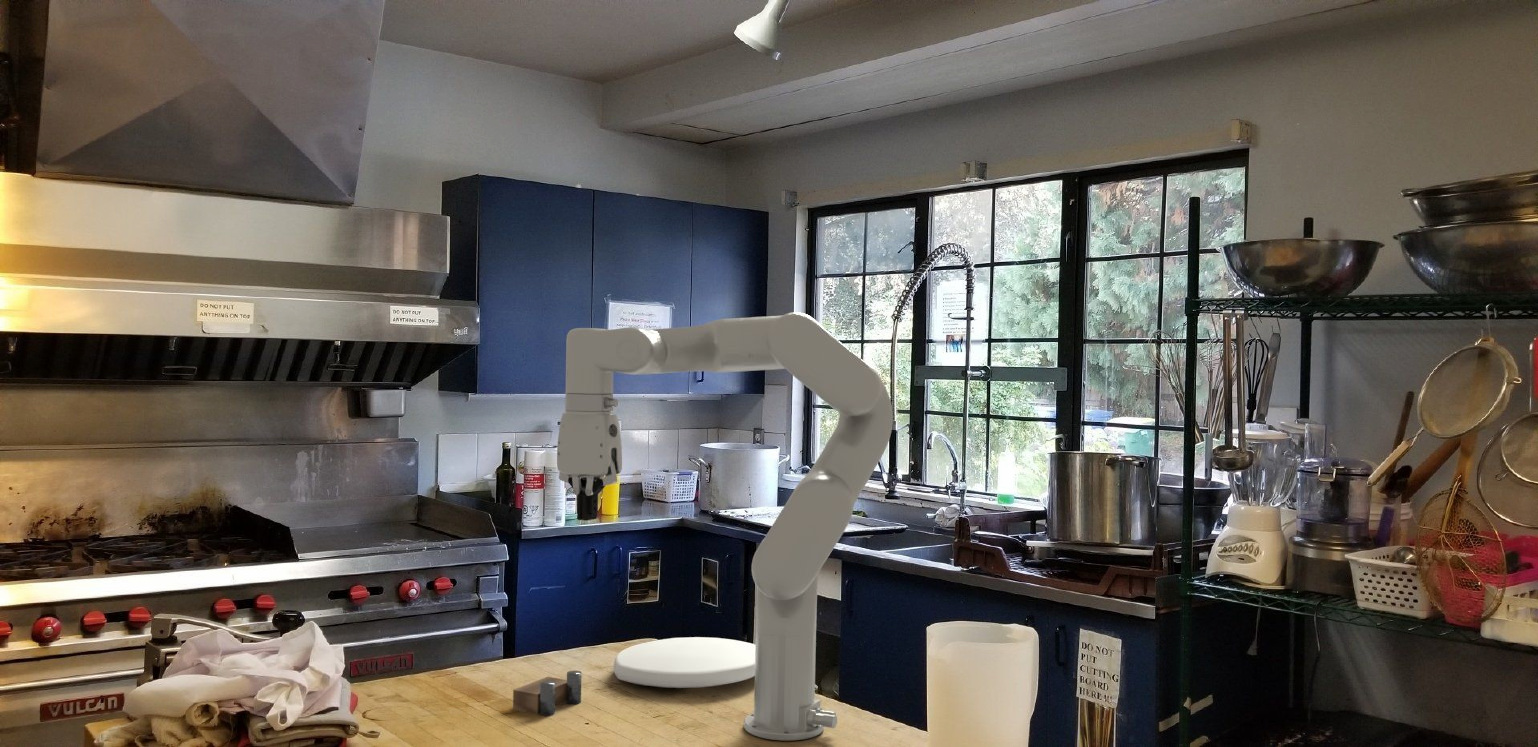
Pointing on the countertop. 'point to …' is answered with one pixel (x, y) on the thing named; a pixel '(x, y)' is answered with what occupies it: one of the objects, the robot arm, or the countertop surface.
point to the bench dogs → (549, 693)
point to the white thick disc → (686, 662)
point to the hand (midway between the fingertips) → (587, 519)
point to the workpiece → (537, 695)
